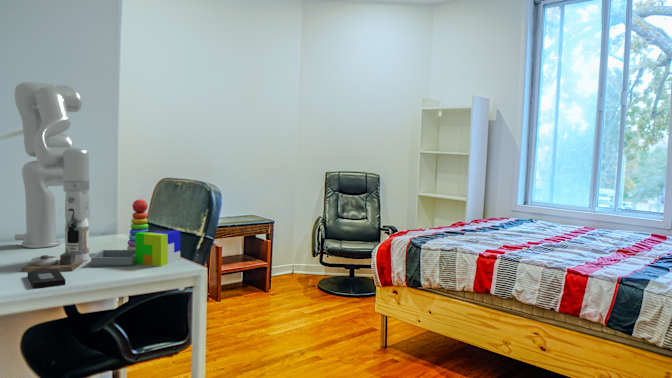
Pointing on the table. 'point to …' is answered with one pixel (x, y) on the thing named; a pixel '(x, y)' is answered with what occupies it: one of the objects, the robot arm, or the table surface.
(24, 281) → the table surface
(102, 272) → the table surface
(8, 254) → the table surface
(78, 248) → the bath foam
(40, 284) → the vhs tape
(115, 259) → the tray
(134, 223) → the stacking toy
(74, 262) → the board
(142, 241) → the puzzle toy
